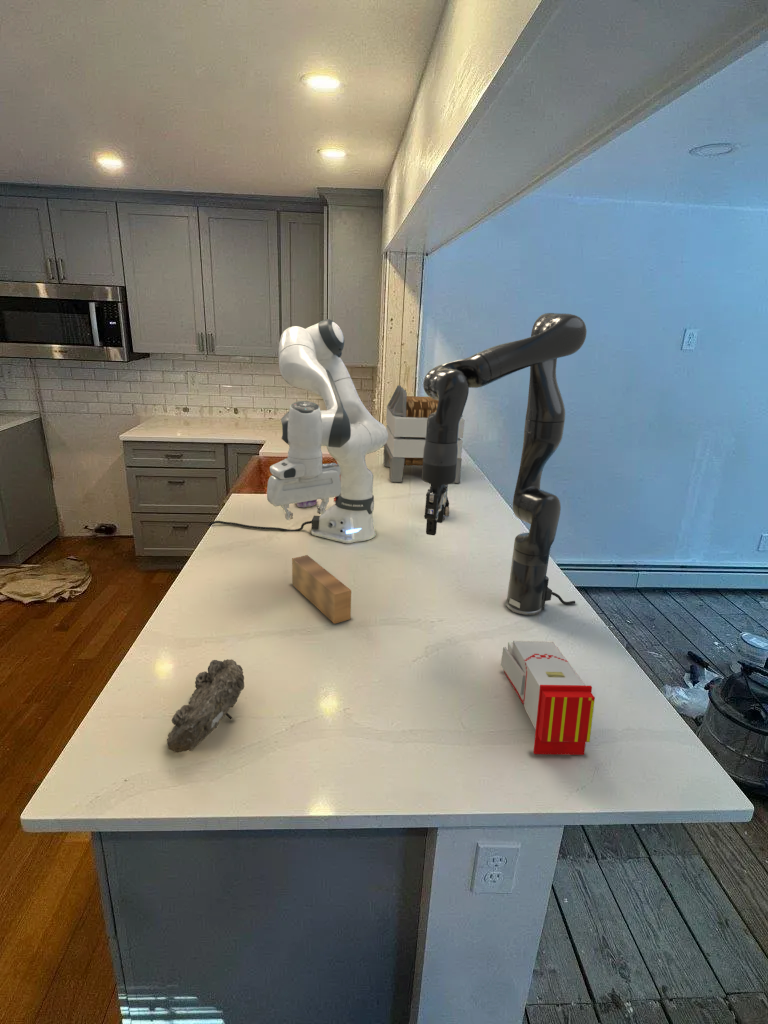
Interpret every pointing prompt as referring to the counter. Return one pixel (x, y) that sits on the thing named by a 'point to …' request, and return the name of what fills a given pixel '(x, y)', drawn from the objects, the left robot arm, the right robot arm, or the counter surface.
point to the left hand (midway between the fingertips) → (305, 516)
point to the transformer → (410, 433)
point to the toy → (550, 696)
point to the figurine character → (445, 509)
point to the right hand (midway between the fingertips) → (434, 528)
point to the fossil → (206, 705)
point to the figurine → (306, 503)
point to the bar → (321, 589)
